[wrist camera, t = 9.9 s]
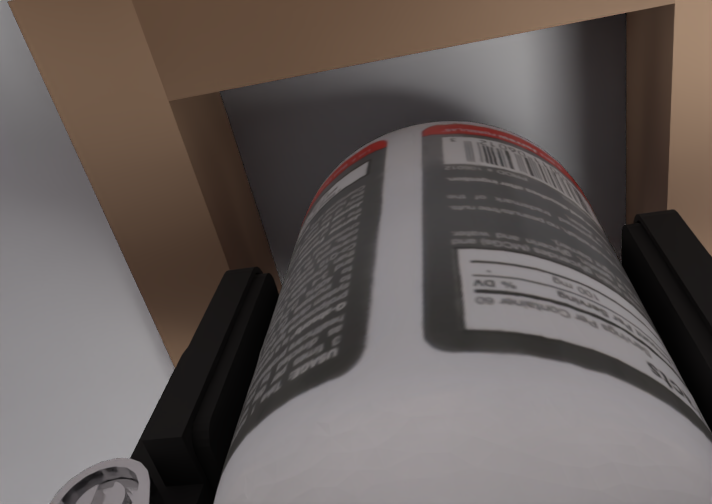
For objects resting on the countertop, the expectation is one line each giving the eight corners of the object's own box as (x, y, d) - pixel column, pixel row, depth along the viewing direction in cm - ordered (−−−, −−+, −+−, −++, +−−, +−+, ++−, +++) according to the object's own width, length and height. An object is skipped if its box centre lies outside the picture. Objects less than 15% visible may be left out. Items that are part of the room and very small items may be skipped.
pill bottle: (366, 383, 15) (292, 1072, 6) (255, 172, 12) (-121, 845, 4) (619, 318, 13) (979, 1117, 5) (551, 62, 11) (1061, 781, 2)
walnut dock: (708, 383, 16) (754, 463, 14) (257, 424, 18) (235, 499, 16) (759, -182, 10) (852, -197, 8) (79, -21, 12) (7, 1, 10)
